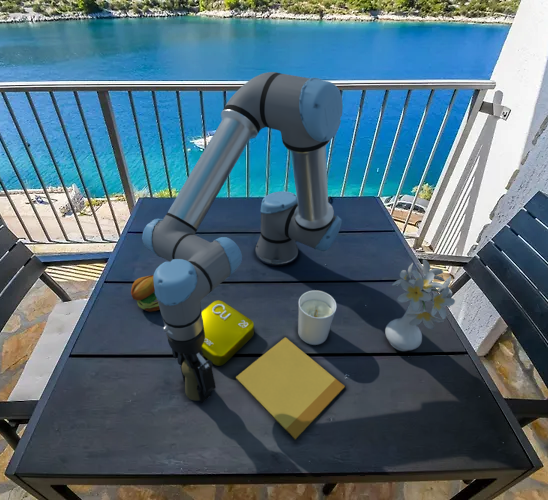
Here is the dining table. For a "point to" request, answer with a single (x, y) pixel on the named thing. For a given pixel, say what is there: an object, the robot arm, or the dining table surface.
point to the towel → (290, 386)
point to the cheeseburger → (145, 293)
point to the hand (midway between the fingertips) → (197, 388)
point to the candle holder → (315, 316)
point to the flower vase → (418, 306)
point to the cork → (190, 382)
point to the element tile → (224, 332)
